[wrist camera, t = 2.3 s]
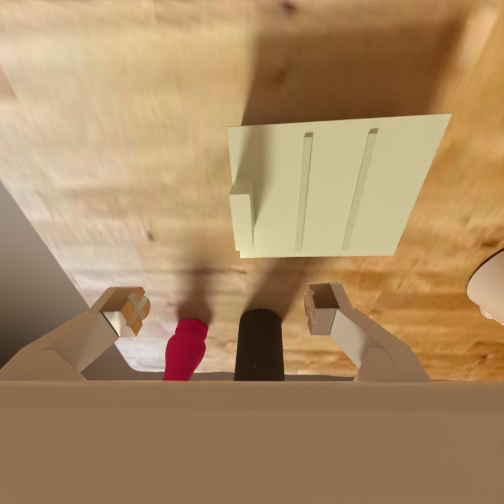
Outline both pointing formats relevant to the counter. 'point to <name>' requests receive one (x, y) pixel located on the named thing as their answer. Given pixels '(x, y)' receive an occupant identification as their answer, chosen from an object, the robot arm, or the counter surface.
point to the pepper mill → (185, 350)
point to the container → (259, 347)
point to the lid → (328, 184)
